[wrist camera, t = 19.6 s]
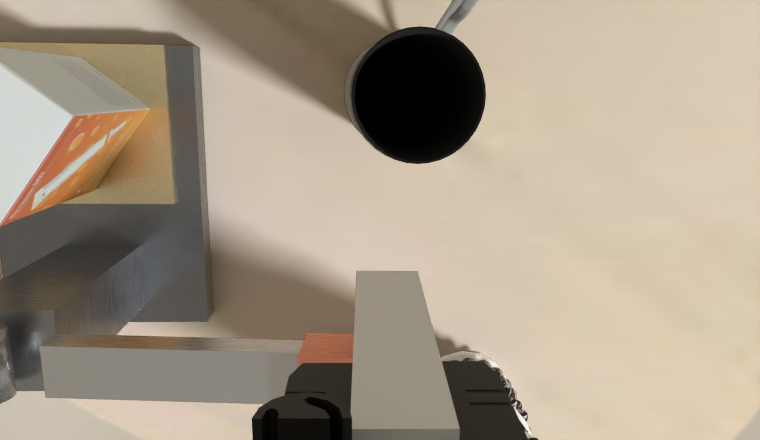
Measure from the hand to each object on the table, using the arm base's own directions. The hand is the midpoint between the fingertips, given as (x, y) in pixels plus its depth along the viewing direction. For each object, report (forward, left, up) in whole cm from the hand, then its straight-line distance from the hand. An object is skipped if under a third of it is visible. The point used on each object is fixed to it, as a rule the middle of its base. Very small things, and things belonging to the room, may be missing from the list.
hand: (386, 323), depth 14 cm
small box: (-3, -21, -32) cm, 39 cm away
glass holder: (-8, +4, -35) cm, 36 cm away
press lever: (+9, -11, -17) cm, 23 cm away
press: (+1, -21, -35) cm, 40 cm away
